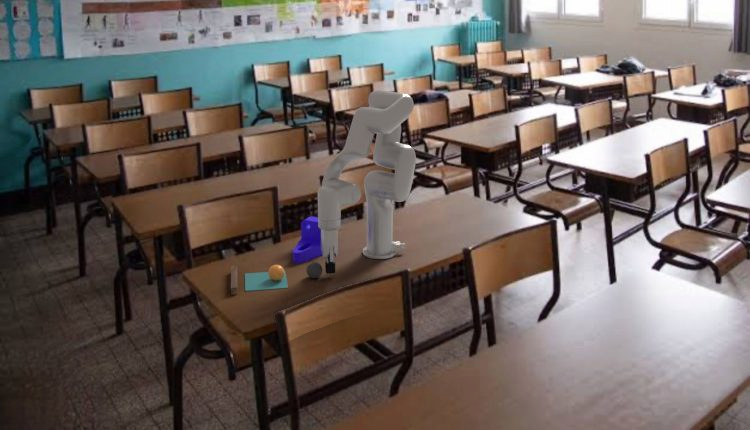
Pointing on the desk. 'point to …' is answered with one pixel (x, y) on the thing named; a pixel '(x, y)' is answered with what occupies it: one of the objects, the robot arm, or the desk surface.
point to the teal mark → (263, 282)
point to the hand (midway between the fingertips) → (330, 272)
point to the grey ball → (314, 270)
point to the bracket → (308, 241)
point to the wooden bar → (234, 280)
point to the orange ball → (276, 272)
